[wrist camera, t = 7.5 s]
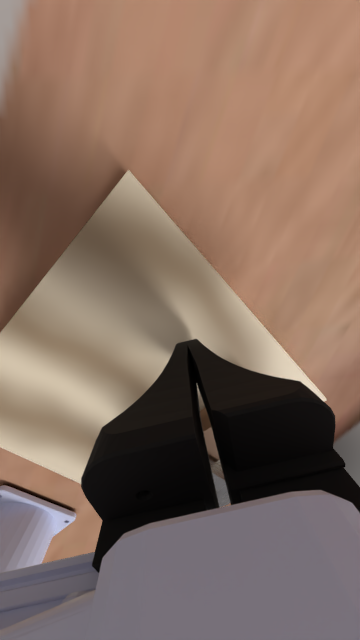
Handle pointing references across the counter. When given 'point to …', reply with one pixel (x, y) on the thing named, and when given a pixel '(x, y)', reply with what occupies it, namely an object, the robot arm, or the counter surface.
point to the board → (117, 330)
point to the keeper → (219, 483)
